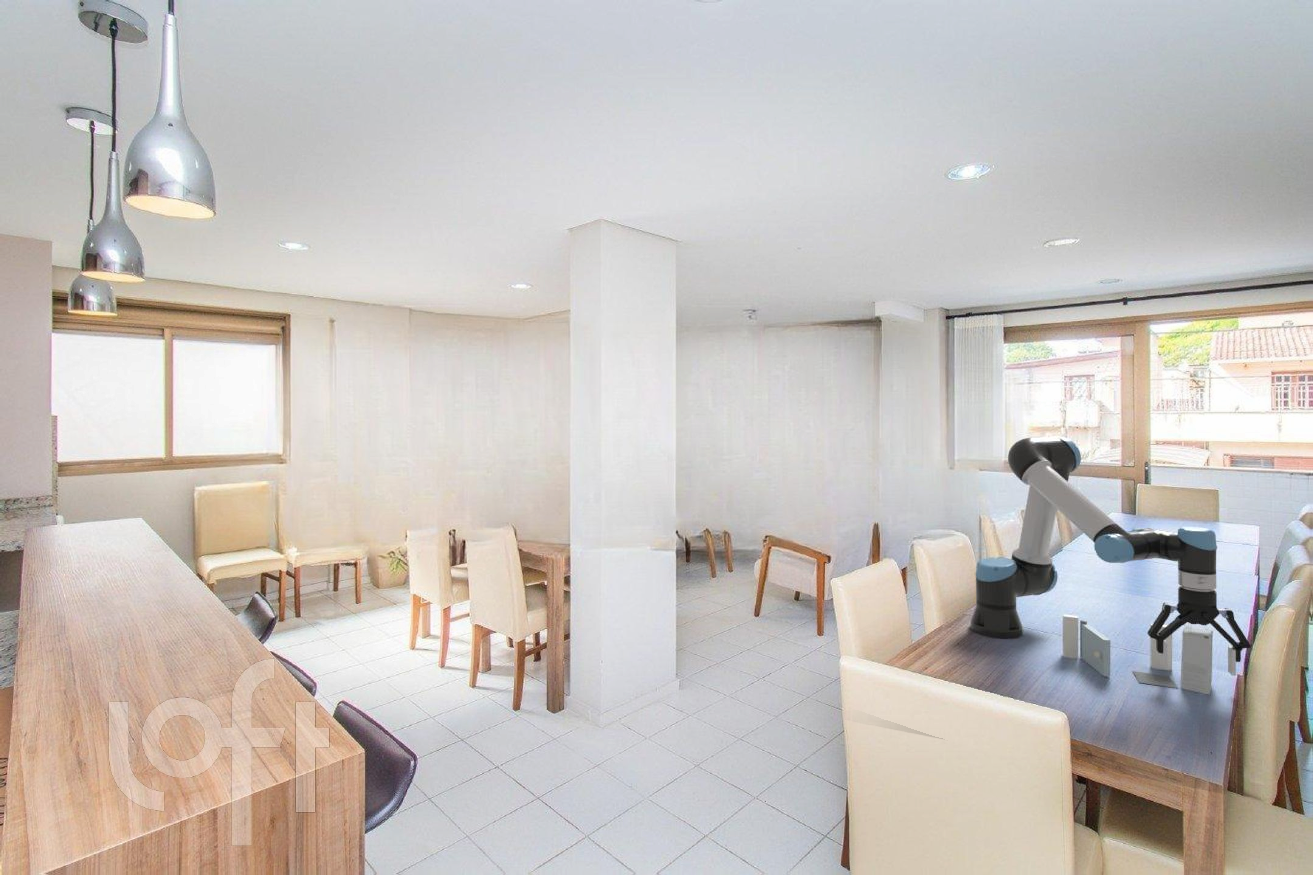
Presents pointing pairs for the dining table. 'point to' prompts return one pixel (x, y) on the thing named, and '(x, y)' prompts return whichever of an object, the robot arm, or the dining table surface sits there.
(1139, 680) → the mat
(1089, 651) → the door
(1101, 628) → the dining table surface
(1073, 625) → the wall
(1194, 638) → the skincare box
